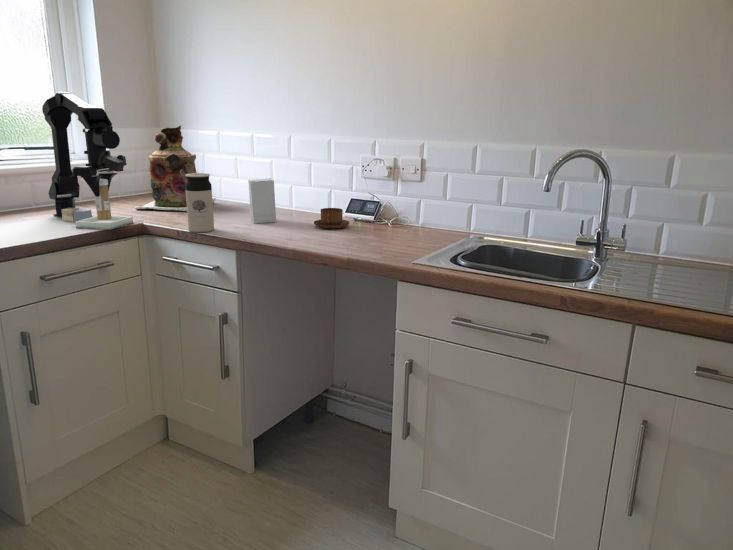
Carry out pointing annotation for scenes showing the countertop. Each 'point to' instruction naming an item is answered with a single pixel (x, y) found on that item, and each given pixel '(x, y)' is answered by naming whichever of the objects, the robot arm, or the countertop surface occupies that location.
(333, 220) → the cup and saucer
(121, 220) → the sage tray
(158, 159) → the cookie jar
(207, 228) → the travel mug
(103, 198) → the sprinkles bottle
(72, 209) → the birch block
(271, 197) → the skincare box
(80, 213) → the slate block
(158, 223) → the countertop surface
